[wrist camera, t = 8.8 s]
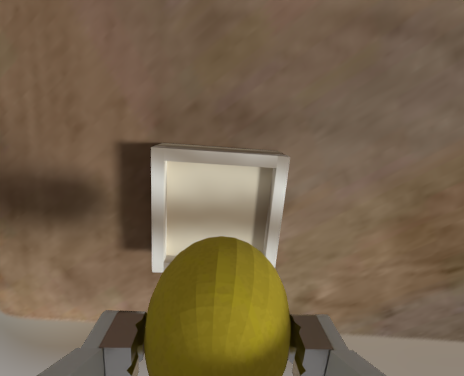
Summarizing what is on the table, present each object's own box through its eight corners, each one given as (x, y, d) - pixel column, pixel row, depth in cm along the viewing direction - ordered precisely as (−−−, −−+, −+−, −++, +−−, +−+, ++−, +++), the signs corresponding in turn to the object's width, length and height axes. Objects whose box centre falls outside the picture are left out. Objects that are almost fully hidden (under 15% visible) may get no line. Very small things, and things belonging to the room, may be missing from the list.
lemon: (288, 278, 14) (357, 456, 6) (206, 317, 15) (172, 525, 7) (244, 196, 13) (257, 284, 5) (157, 242, 14) (53, 382, 6)
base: (162, 142, 23) (150, 147, 19) (277, 151, 24) (290, 156, 19) (162, 248, 25) (152, 272, 21) (265, 252, 26) (274, 275, 22)
